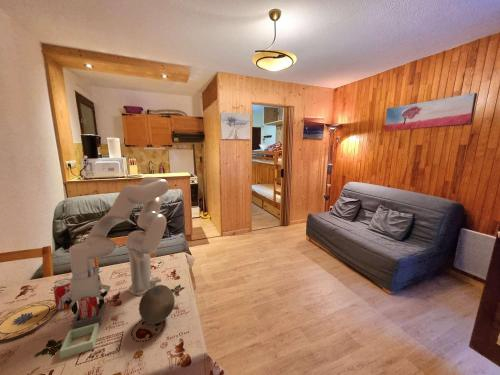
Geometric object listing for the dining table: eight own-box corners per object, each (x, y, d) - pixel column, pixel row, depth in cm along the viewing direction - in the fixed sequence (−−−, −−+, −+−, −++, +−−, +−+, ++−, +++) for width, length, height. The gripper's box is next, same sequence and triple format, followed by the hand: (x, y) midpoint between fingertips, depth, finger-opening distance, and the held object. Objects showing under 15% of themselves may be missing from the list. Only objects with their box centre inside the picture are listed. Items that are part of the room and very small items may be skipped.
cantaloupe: (136, 337, 83) (133, 303, 80) (144, 311, 96) (141, 281, 94) (174, 329, 87) (172, 297, 84) (176, 305, 100) (175, 276, 98)
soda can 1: (64, 312, 95) (61, 288, 93) (52, 309, 96) (48, 285, 94) (80, 301, 102) (76, 278, 100) (68, 299, 103) (64, 276, 101)
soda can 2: (101, 316, 93) (98, 292, 91) (85, 326, 88) (81, 300, 85) (94, 310, 96) (91, 287, 94) (78, 320, 91) (74, 295, 89)
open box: (105, 307, 98) (104, 302, 97) (93, 348, 78) (92, 341, 77) (79, 314, 94) (79, 308, 93) (60, 358, 74) (59, 351, 73)
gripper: (110, 263, 95) (113, 298, 98) (60, 272, 88) (66, 309, 91) (107, 272, 88) (111, 308, 91) (53, 282, 81) (59, 322, 84)
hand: (88, 309), depth 91 cm, fingers open, 8 cm apart
